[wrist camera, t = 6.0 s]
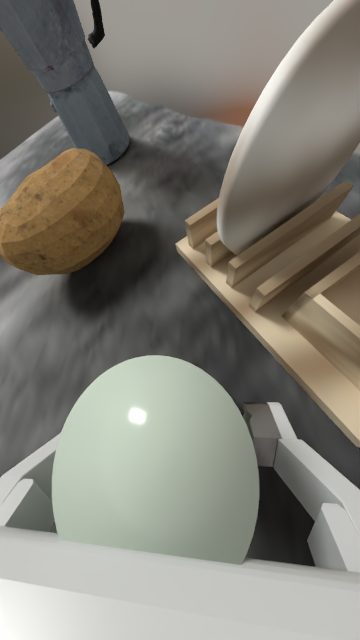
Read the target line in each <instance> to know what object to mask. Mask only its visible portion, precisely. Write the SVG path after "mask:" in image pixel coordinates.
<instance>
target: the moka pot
mask: <svg viewBox="0 0 360 640" xmlns="http://www.w3.org/2000/svg"><path fill="white" fill-rule="evenodd" d="M91 7H92V11H93V18H94V31H93V32H92V33H91V34H89V35H88V40H89V42H90V43H91V44H92V47H93V48H95V47H96V46H97V45H98V44H99V43H100V42H101V40H102V39H103V38H104V36H105V34H104V28H103V23H102V15H101V9H100V4H99V1H98V0H91ZM0 30H1V32H2V33H3V34H4V35H5V37H6V38H7V39H8V41H9V42H10V44H11V45H12V46H13V48H14V49H15V51H16V52H17V53H18V55H19V56H20V58H21V59H22V61H23V62H24V63H25V65H26V66H27V68H28V69H29V70H31V71H33V73H34V74H35V76H36V78H37V79H38V81H39V83H40V84H41V85H42V87H43V89H44V90H45V91H46V92H47V93H48V96H49V98H50V100H51V101H50V105H51V107H52V109H53V111H55V112H57V113H58V115H59V117H60V119H61V121H62V123H63V125H64V127H65V129H66V131H67V133H68V135H69V137H70V139H71V140H72V142H73V144H74V146H75V148H77V149H87V150H89V151H91V152H93V153H95V154H96V155H97V156H98V157H99V158H100V159H101V161H102V162H103V163H104V164H105V165H108V164H110V163H111V162H113V161H115V160H117V159H118V158H119V157H120V156H121V155H122V154H123V153H124V152H125V151H126V149H127V147H128V145H129V134H128V132H127V130H126V128H125V126H124V124H123V122H122V120H121V118H120V116H119V114H118V112H117V110H116V108H115V106H114V104H113V101H112V99H111V97H110V95H109V93H108V91H107V89H106V87H105V85H104V83H103V81H102V79H101V77H100V75H99V73H98V72H97V70H96V69H95V67H94V65H93V61H92V58H91V55H90V52H89V50H88V47H87V45H86V42H85V35H84V32H83V29H82V26H81V23H80V20H79V16H78V13H77V10H76V7H75V4H74V1H73V0H0Z"/></svg>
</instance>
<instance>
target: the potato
mask: <svg viewBox="0 0 360 640" xmlns="http://www.w3.org/2000/svg"><path fill="white" fill-rule="evenodd" d="M124 213H125V212H124V207H123V201H122V196H121V190H120V185H119V183H118V182H117V180H116V178H115V176H114V174H113V172H112V171H111V170H110V169H109V168H108V167H107V166H106V165H105V164H104V163H103V162H102V161H101V159H100V158H99V157H98V156H97V155H96V154H95V153H93V152H91V151H89V150H87V149H77V148H71V149H69V150H66V151H64V152H63V153H61V154H60V155H59V156H57V157H56V158H55V159H53V160H52V161H51V162H49V163H48V164H46V165H45V166H44V167H42V168H41V169H39V170H37V171H36V172H34V173H32V174H30V175H28V176H27V177H26V179H25V180H24V181H23V182H22V183H21V184H20V186H19V187H18V188H17V190H16V191H15V193H14V194H13V196H12V198H11V199H10V200H9V201H8V202H7V203H6V204H5V205H4V206H3V207H2V209H1V210H0V256H1V257H2V258H3V260H4V261H5V262H7V263H9V264H11V265H12V266H14V267H16V268H18V269H21V270H24V271H27V272H30V273H33V274H36V275H47V274H68V273H71V272H74V271H77V270H80V269H81V268H83V267H84V266H86V265H87V264H89V263H91V262H92V261H93V260H94V259H95V258H97V257H98V256H99V255H100V254H101V253H102V252H103V251H104V250H105V249H106V248H107V247H108V246H109V245H110V244H111V242H112V241H113V239H114V237H115V236H116V234H117V232H118V230H119V227H120V225H121V222H122V219H123V216H124Z"/></svg>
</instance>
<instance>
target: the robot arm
mask: <svg viewBox="0 0 360 640" xmlns="http://www.w3.org/2000/svg"><path fill="white" fill-rule="evenodd" d="M243 409H244V414H243V419H244V421H245V423H246V425H247V427H248V430H249V433H250V436H251V438H252V441H253V445H254V450H255V454H256V458H257V465H258V466H270V467H274V469H275V471H276V472H277V473H278V474H279V476H280V477H281V478H282V480H283V481H284V482H285V484H286V485H287V486H288V487H289V489H290V490H291V491H292V493H293V494H294V495H295V496H296V498H297V499H298V500H299V502H300V503H301V504H302V506H303V507H304V508H305V509H306V511H307V512H308V513H309V515H310V516H311V517H312V518H313V520H314V521H315V523H314V525H313V528H312V530H311V532H310V535H309V537H308V539H307V542H308V545H309V548H310V551H311V554H312V557H313V560H314V563H315V566H316V567H314V566H306V565H298V564H290V563H283V562H275V561H267V560H260V559H252V558H244V560H243V562H242V564H241V565H237V564H230V563H222V562H215V561H208V560H200V559H193V558H186V557H179V556H172V555H164V554H157V553H150V552H143V551H135V550H128V549H121V548H114V547H106V546H99V545H92V544H85V543H78V542H70V541H63V540H60V539H59V536H58V533H52V532H49V530H50V528H51V527H52V525H53V523H54V521H55V519H54V514H53V504H52V473H53V463H54V458H55V453H56V448H57V445H58V441H59V438H60V434H61V433H60V434H59V435H57V436H56V437H55V438H53V439H52V440H50V441H49V442H48V443H46V444H45V445H44V446H42V447H41V448H39V449H38V450H37V451H35V452H34V453H33V454H31V455H30V456H28V457H27V458H26V459H24V460H23V461H22V462H20V463H19V464H17V465H16V466H15V467H13V468H12V469H11V470H9V471H8V472H6V473H5V474H4V475H2V476H1V478H0V640H360V490H359V489H358V488H357V487H356V486H354V485H353V484H352V483H351V482H350V481H349V480H348V479H346V478H345V477H344V476H343V475H342V474H341V473H339V472H338V471H337V470H336V469H335V468H334V467H333V466H331V465H330V464H329V463H328V462H327V461H326V460H324V459H323V458H322V457H321V456H320V455H319V454H318V453H316V452H315V451H314V450H313V449H312V448H311V447H309V446H308V445H307V444H306V443H305V442H304V441H303V440H298V439H297V437H296V435H295V433H294V431H293V429H292V427H291V425H290V422H289V420H288V418H287V416H286V414H285V412H284V410H283V408H282V406H281V404H280V403H277V402H267V403H266V402H244V405H243Z"/></svg>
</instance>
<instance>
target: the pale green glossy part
mask: <svg viewBox="0 0 360 640" xmlns="http://www.w3.org/2000/svg"><path fill="white" fill-rule="evenodd" d="M52 504H53V514H54V519H55V524H56V529H57V533H58V536H59V539H60V540H63V541H70V542H78V543H85V544H92V545H99V546H106V547H114V548H121V549H128V550H135V551H143V552H150V553H157V554H164V555H172V556H179V557H186V558H193V559H200V560H208V561H215V562H222V563H230V564H237V565H241V564H242V562H243V560H244V558H245V556H246V554H247V552H248V549H249V546H250V543H251V540H252V537H253V534H254V530H255V525H256V520H257V516H258V505H259V472H258V465H257V458H256V454H255V450H254V445H253V441H252V438H251V436H250V433H249V430H248V427H247V425H246V423H245V421H244V419H243V417H242V415H241V413H240V411H239V409H238V407H237V406H236V404H235V403H234V401H233V400H232V398H231V397H230V396H229V394H228V393H227V392H226V391H225V390H224V388H223V387H222V386H221V385H220V384H219V383H218V382H217V381H216V380H215V379H214V378H212V377H211V376H210V375H209V374H207V373H206V372H204V371H203V370H202V369H200V368H198V367H196V366H195V365H193V364H191V363H188V362H186V361H183V360H181V359H177V358H173V357H169V356H159V355H155V356H143V357H137V358H133V359H130V360H127V361H124V362H122V363H120V364H118V365H116V366H114V367H112V368H111V369H109V370H107V371H106V372H104V373H103V374H102V375H101V376H99V377H98V378H97V379H96V380H95V381H94V382H93V383H92V384H91V385H90V386H89V387H88V388H87V389H86V390H85V391H84V393H83V394H82V395H81V396H80V398H79V399H78V401H77V402H76V404H75V405H74V407H73V408H72V410H71V412H70V414H69V416H68V418H67V420H66V422H65V424H64V427H63V429H62V432H61V434H60V438H59V441H58V445H57V448H56V453H55V458H54V463H53V473H52Z"/></svg>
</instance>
